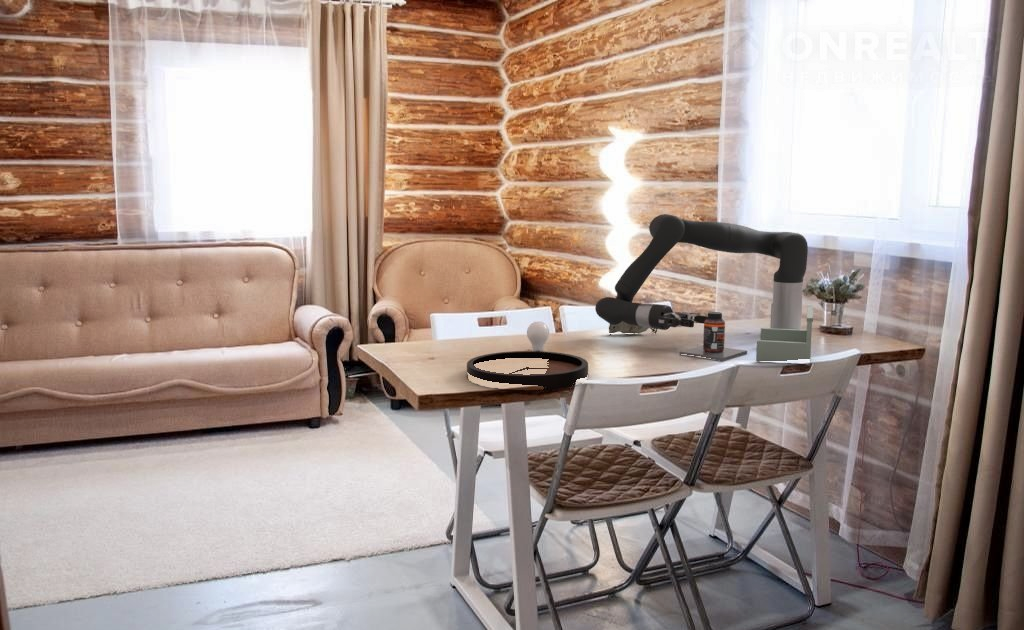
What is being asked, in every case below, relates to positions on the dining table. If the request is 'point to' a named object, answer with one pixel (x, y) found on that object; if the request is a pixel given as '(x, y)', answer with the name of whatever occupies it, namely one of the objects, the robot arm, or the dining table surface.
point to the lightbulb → (538, 335)
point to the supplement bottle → (714, 332)
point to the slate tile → (715, 353)
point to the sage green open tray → (785, 343)
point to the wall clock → (556, 377)
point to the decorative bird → (627, 328)
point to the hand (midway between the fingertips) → (701, 321)
